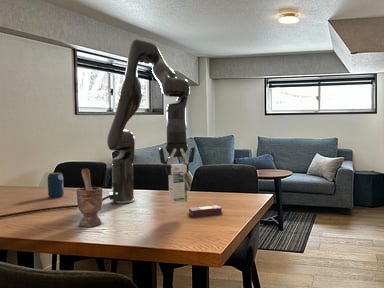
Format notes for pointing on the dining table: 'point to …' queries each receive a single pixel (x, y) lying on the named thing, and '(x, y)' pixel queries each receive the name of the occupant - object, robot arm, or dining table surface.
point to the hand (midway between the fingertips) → (177, 174)
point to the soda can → (55, 185)
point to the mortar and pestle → (89, 201)
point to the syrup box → (178, 183)
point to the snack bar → (205, 211)
